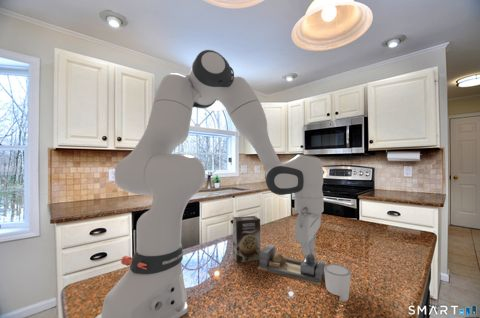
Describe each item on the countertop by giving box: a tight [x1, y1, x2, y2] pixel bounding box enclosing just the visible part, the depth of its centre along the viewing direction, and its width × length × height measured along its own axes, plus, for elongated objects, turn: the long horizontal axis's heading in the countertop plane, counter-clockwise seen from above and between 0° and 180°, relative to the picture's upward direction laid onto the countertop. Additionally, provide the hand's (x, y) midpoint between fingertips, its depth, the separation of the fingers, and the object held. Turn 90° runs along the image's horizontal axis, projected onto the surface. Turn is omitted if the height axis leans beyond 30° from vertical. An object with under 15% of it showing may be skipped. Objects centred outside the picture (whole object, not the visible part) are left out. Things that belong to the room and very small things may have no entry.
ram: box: [300, 236, 319, 277], centre depth 70 cm, size 7×4×12 cm, turn 150°
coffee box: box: [232, 215, 261, 263], centre depth 81 cm, size 9×6×16 cm
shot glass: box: [324, 263, 352, 302], centre depth 61 cm, size 7×7×7 cm
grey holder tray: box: [256, 243, 326, 286], centre depth 73 cm, size 11×20×6 cm, turn 60°
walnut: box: [272, 252, 284, 266], centre depth 75 cm, size 4×4×4 cm
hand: (309, 248), depth 70 cm, fingers open, 8 cm apart
